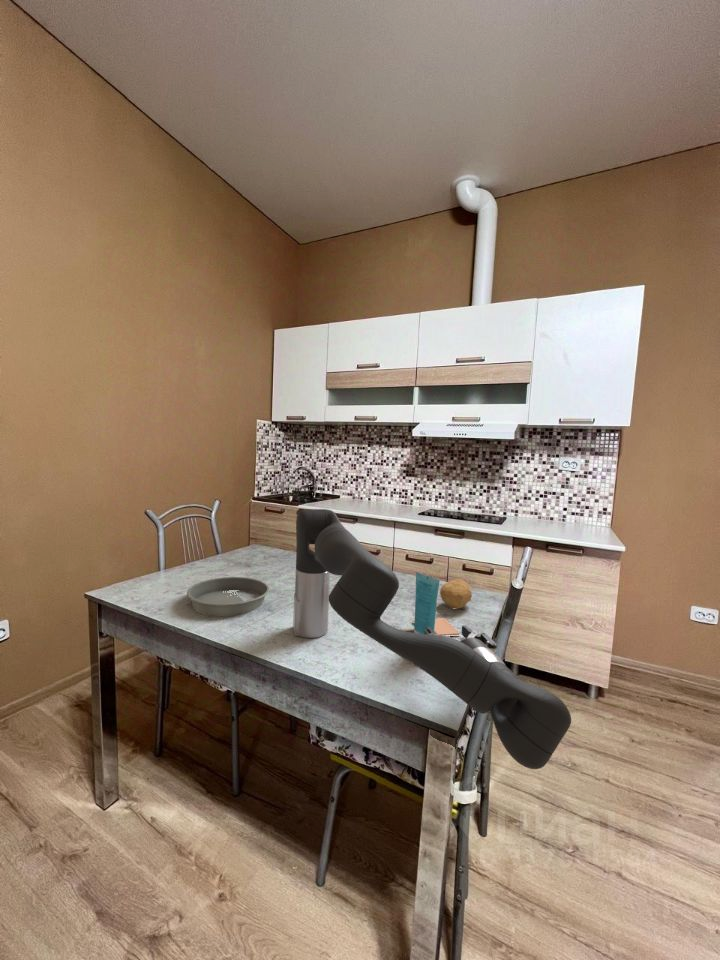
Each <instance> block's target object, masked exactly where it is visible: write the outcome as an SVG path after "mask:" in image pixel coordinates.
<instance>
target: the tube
mask: <svg viewBox="0 0 720 960" xmlns="http://www.w3.org/2000/svg"><path fill="white" fill-rule="evenodd" d="M440 581H441V580H440V579H438V578H435V577H432V576H429V575H426V574H423V573H421V572H418V571H415V601H414V602H415V603H414V606H415V607H414V620H415V623H413V625H414V627H413V629H414V633H419V634H425V629H426V627H430V628H431V629H432V630H433V631H434V627H435V619H436V617H437V615H436V613H437V604H438V596H439V595H438V594H439V589H440V588H439V587H440Z"/></svg>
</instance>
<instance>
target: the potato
mask: <svg viewBox="0 0 720 960" xmlns="http://www.w3.org/2000/svg"><path fill="white" fill-rule="evenodd" d="M439 595H440V598H441V600H442V601H443V603H444V604H445V605H446V606H447V607H449V608H451V609H453V608H457V609H461V608H463V607H465V606H466V605H467V604H468V603H469V602H470V601H471V600H472V597H473V594H472V589H471V587H470V585H469V583H467V582H466V581H465V580H463V579H461V578H456V579H455V578H454V579H452V580H450V581H448V582H446V583H444V584H443V585H442V586H441V588H440V590H439Z"/></svg>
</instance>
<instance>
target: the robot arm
mask: <svg viewBox="0 0 720 960" xmlns="http://www.w3.org/2000/svg"><path fill="white" fill-rule="evenodd" d="M295 520H296V521H295V531H296V532H295V535H296V536H295V537H296V540H295V541H296V543H295V544H296V545H295V546H296V547H295V548H296V549H295V550H296V554H295V577H294V578H295V579H294V580H295V582H294V585H295V586H294V594H293V615H292V617H293V618H292V619H293V621H292V629H293V635H294V637H300V638H305V639H314V638H319V637H323V636H325V635H326V634H327V633H328V629H329V610H330V609H329V607H331V608H332V609H333V611H335V613H337V615H338V616H339V617H340V618H341V619H343V620H344V621H346V622H347V623H348V624H350V625H351V626H352V627H354V628H355V629H356V630H358V631H360V632H361V633H363V634H364V635H366V636H368V637H369V638H370V639H372V640H374V641H375V642H377V643H379V644H380V645H382V646H383V647H385V648H386V649H388V650H389V651H391V652H393V653H394V654H396V655H397V656H399V657H400V658H403V659H404V660H406V661H408V662H409V663H411V664H413V666H416V667H418V668H419V669H420V670H422V671H423V672H425V673H426V674H428V675H429V676H431V677H433V679H435V680H436V681H438V683H440V684H441V685H443V686H444V687H445V688H446V689H448V690H449V691H450V692H451V693H453V695H455V696H457V697H458V698H459V699H460V700H461V701H463V702H464V703H465V704H467V705H468V706H469V708H471V709H472V710H473V711H476V712H477V713H479V714H487V713H489V714H490V717H491V719H492V722H493V724H494V728H495V730H496V733H497V736H498V738H499V739H500V742H501V744H502V745H503V747H504V749H505V750H506V751H507V753H508V754H509V755H510V756H511V758H512V759H513V760H514V761H515V762H517V763H518V764H519V765H521V766H523V767H525V768H527V769H531V770H539V769H542V768H543V767H545V766H546V765H547V763H548V762H549V761H550V759H551V758H552V756H553V754H554V753H555V751H556V750H557V748H558V746H559V745H560V743H561V742H562V740H563V738H564V737H565V735H566V734H567V733H568V730H569V729H570V727H571V724H572V717H571V713H570V710H569V708H568V707H567V705H566V704H565V702H564V701H562V699H561V698H560V697H558V696H557V695H555V694H554V693H553V692H550V691H548V690H547V689H545V688H542V687H539V686H536V685H534V684H532V683H529V682H526V681H524V680H522V679H520V677H518V676H517V675H516V674H515V673H514V672H513V671H512V670H511V669H510V668H509V667H507V666H506V663H505V662H504V661H503V660H502V659H501V658H500V657H499V656H498V655H497V650H498V649H497V645H498V643H496V642H495V641H494V640H493V638H491V637H490V635H488V634H487V633H486V632H481V633H478V632H477V631H474V630H472V629H471V628H470V627H468V626H467V625H462V626H461V635H462V637H458V638H457V637H454V638H453V637H449V636H446V635H441V636H439V635H437V634H435V632H434V631H433V630H432V629H431V628H430V627H426V629H425V634H419V633H412V632H406V631H402V630H401V629H399V628H396V627H394V626H392V625H390V624H388V623H387V622H385V621H384V620H382V619H381V617H382V616H383V614H384V612H385V611H386V609H387V608H388V606H389V605H390V603H391V601H392V600H393V599H394V597H395V596H396V594H397V592H398V590H399V587H400V582H399V578H398V576H397V574H396V573H395V572H394V571H393V570H392V569H391V568H390V567H389V566H387V565H386V564H385V563H384V562H383V561H382V560H380V559H379V558H378V557H376V556H375V554H373V553H371V552H370V551H368V549H366V548H365V547H364V545H362V543H361V542H360V541H359V540H358V539H357V538H356V537H355V536H354V535H353V534H352V533H351V532H350V531H349V530H347V529H346V527H345V526H344V525H343V524H342V522H341V521H340V519H339V517H338V515H337V514H336V513H335V512H334V511H333V510H332V509H331V510H330V509H326V508H325V509H324V508H323V509H321V508H320V509H319V508H318V509H317V508H313V509H312V508H310V509H309V508H306V509H300V510H299V511H298V513H297V515H296V519H295ZM310 545H314V550H312V549H311V548H310ZM331 575H335V576H340V578H339V579H338V581H337V582H336V584H335V585H334V586H333V588H332V590H331V591H330V584H331V583H330V582H331Z"/></svg>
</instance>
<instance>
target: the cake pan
mask: <svg viewBox="0 0 720 960" xmlns="http://www.w3.org/2000/svg"><path fill="white" fill-rule="evenodd" d="M229 590H242V592H248V591H250V593H253V594H256V595H257V597H254V598H251V599H249V600H243V599H242V598H241V597H240V596H239V594H238V595H237V594H236V592H235V594H236V595H234V592H232V593H233V594H232V593H227V591H229ZM223 591H224V593H223ZM225 591H226V593H225ZM269 592H270V586H269V585H268V584H267V582H265V581H262V580H260V579H257V578H254V577H244V576H226V577H225V576H223V577H216V578H210V579H206V580H203V581H200V582H197V583H195V584H194V585H191V586H190V587H189V588H188V590H187V591H186V596H187V597H188V599H189V600H191V605H192V606H191V607H192V608H193V609H194V610H195V611H196V610H197V611H198V613H200V612H201V613H200V614H202V613H204V614H203V615H206V614H207V615H208V616H213V615H214V616H217V617H218V616H219V617H225V616H226V617H229V616H237V615H242V614H247V613H249V612H252V611H254V610H257V609H259V608H260V607H261V606H262V605H263V603H265V602H264V601H265V598H266V596H267V595H268V594H269ZM230 594H231V595H232V596H230ZM227 596H228V597H227ZM237 596H238V597H237ZM197 611H196V612H197Z"/></svg>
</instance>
